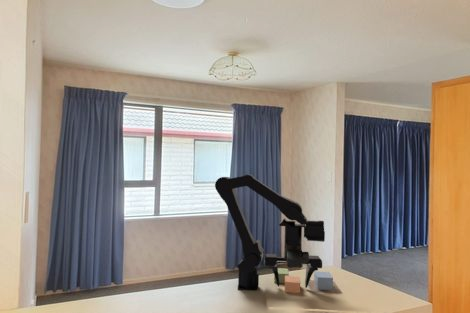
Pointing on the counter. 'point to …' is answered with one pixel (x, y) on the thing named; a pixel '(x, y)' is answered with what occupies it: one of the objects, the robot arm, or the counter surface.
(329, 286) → the base brick
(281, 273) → the olive brick
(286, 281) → the terracotta brick
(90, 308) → the counter surface
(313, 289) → the walnut board
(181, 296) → the counter surface
